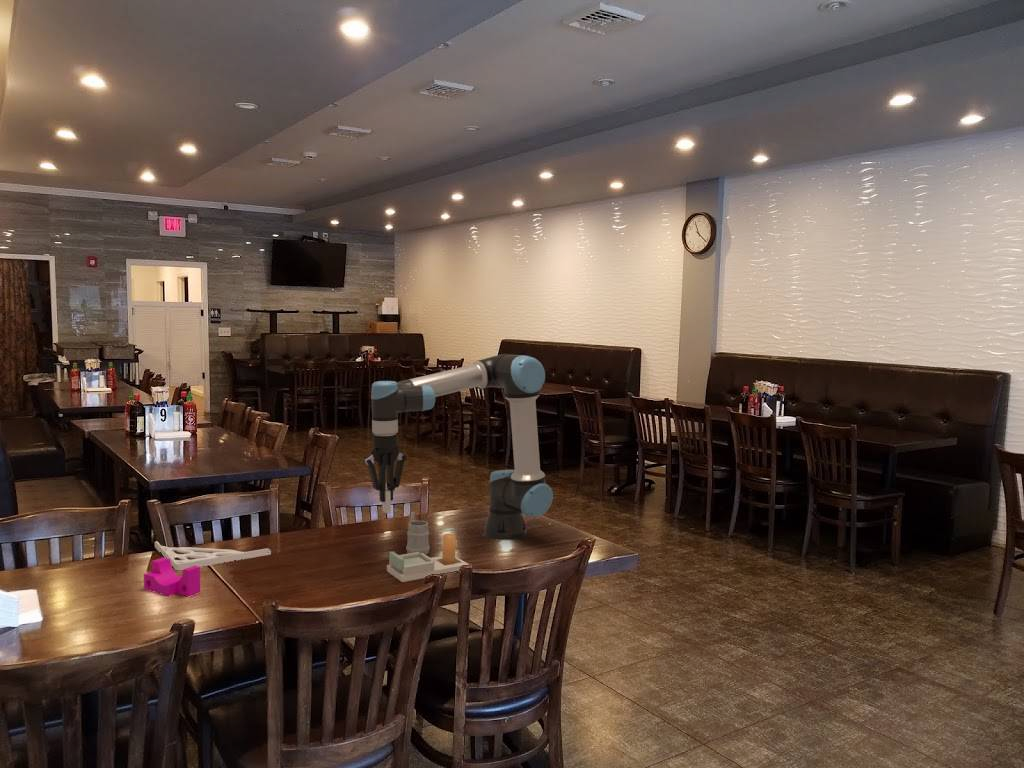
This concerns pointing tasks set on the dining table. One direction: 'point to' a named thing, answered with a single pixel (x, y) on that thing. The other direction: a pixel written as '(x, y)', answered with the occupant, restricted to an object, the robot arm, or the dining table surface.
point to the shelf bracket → (205, 555)
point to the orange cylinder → (448, 549)
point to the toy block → (172, 579)
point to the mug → (417, 536)
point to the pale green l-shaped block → (403, 561)
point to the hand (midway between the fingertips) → (386, 511)
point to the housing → (423, 567)
